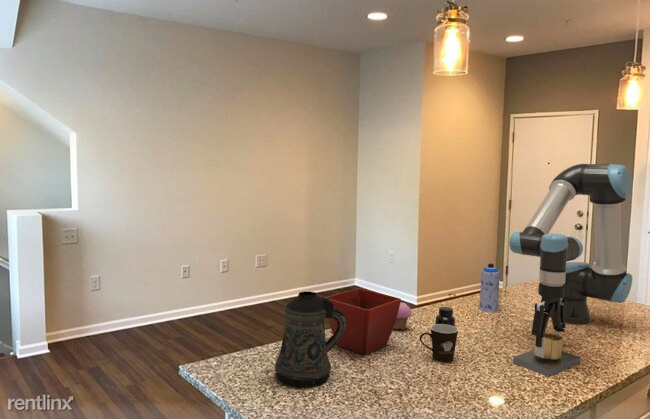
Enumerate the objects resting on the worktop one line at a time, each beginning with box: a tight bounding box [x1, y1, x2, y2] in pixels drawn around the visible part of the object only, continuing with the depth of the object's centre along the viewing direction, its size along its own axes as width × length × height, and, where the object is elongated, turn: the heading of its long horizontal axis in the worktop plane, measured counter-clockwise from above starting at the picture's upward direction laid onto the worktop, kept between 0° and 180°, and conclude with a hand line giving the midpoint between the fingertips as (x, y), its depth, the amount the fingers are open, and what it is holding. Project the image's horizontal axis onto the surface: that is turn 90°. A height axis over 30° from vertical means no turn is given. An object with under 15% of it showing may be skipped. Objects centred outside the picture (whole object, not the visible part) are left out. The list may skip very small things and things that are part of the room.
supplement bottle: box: [434, 306, 456, 327], centre depth 180 cm, size 7×7×12 cm
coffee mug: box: [419, 324, 459, 363], centre depth 165 cm, size 12×9×10 cm
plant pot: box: [324, 288, 402, 355], centre depth 174 cm, size 19×19×17 cm
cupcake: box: [393, 302, 412, 331], centre depth 193 cm, size 9×9×10 cm
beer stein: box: [274, 291, 346, 389], centre depth 150 cm, size 16×19×25 cm
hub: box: [533, 331, 563, 359], centre depth 162 cm, size 8×8×6 cm
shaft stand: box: [512, 349, 581, 377], centre depth 162 cm, size 18×12×6 cm, turn 125°
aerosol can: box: [478, 263, 501, 313], centre depth 219 cm, size 8×8×20 cm
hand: (547, 353), depth 162 cm, fingers closed on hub, 8 cm apart
